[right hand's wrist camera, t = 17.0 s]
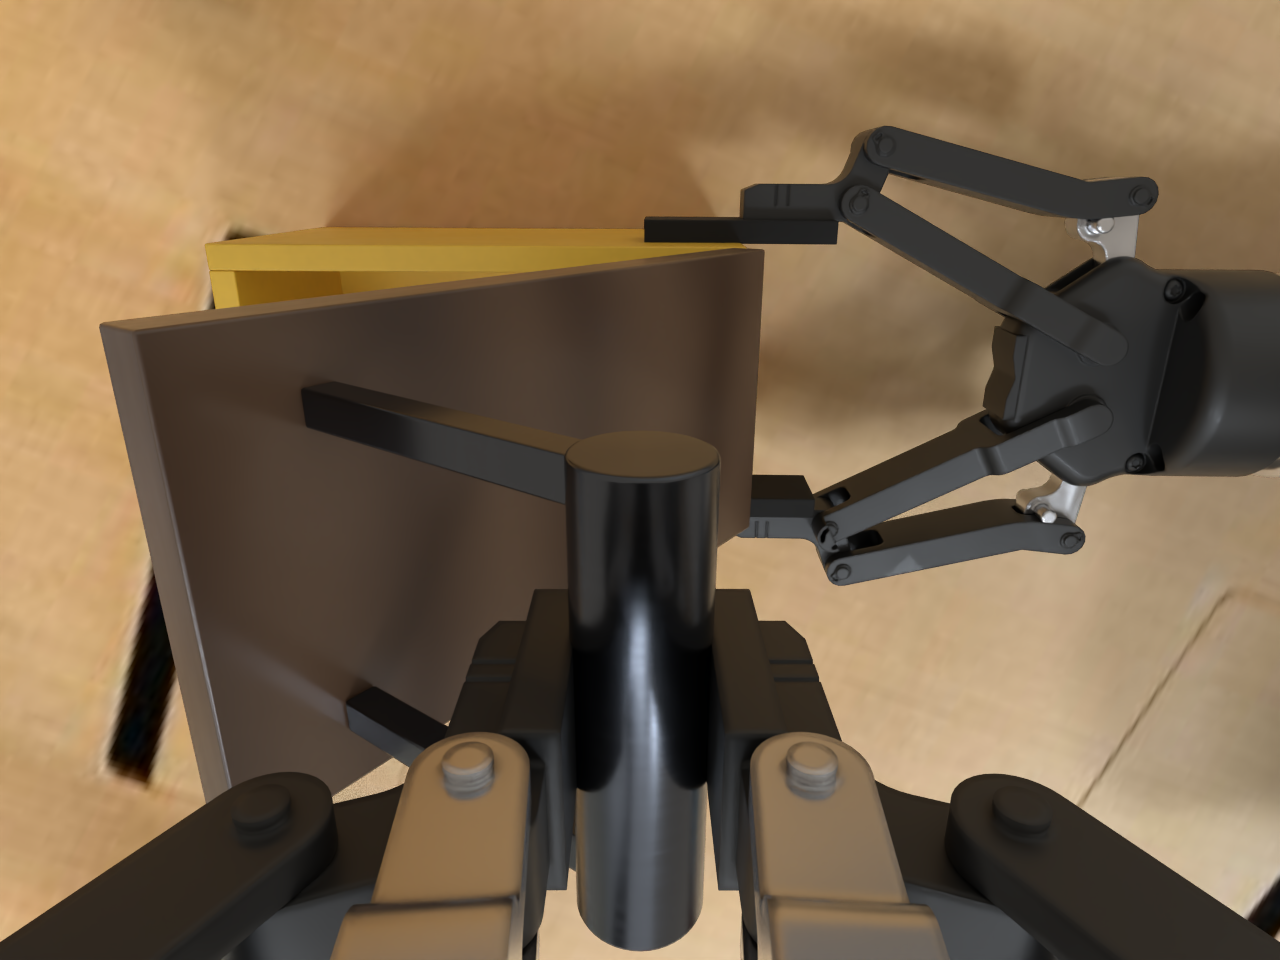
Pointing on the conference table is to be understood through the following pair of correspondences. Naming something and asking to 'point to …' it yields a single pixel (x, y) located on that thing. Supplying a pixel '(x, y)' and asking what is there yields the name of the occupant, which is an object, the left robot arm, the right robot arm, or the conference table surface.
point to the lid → (458, 529)
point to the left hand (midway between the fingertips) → (644, 369)
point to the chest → (409, 258)
